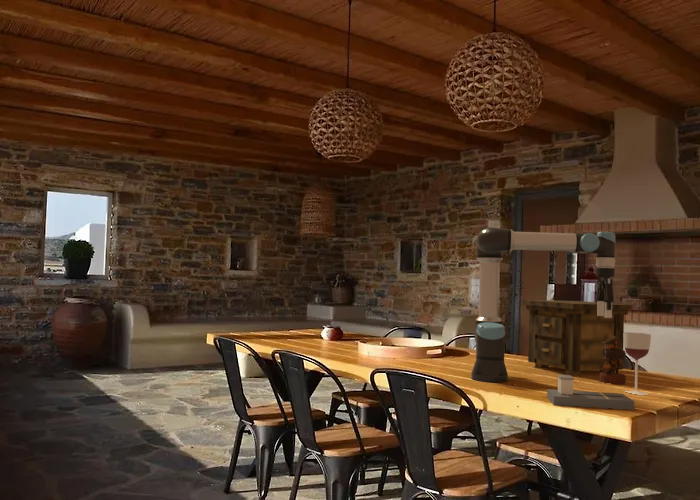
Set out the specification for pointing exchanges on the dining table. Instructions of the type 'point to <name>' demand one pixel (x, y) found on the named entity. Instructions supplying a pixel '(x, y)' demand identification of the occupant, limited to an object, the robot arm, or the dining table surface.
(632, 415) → the dining table surface
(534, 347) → the wooden cabinet
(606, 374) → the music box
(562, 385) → the fader tab
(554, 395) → the fader console
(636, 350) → the wineglass
